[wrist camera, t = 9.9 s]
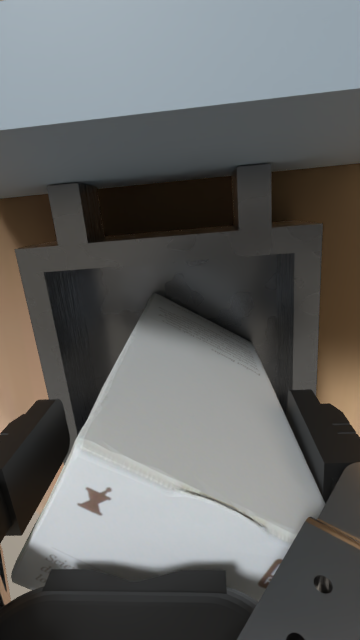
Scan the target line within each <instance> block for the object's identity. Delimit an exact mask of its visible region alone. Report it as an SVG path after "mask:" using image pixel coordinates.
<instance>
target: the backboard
mask: <svg viewBox="0 0 360 640" xmlns="http://www.w3.org/2000/svg"><path fill="white" fill-rule="evenodd" d="M270 163H271V172H275V171H286V170H296V169H306V168H316V167H326V166H336V165H347V164H357V163H360V0H3V1H0V199H1V198H11V197H21V196H31V195H41V194H48V190H47V186H51V185H61V184H71V183H81V184H86V185H91V186H96V187H97V189H102V188H113V187H123V186H133V185H143V184H153V183H164V182H174V181H184V180H194V179H204V178H214V177H225V176H232V172H233V171H234V170H235V168H236V167H240V166H250V165H260V164H270Z"/></svg>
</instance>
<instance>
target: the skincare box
mask: <svg viewBox="0 0 360 640" xmlns="http://www.w3.org/2000/svg"><path fill="white" fill-rule="evenodd" d="M324 506H325V502H324V500H323V497H322V495H321V493H320V491H319V488H318V486H317V484H316V482H315V479H314V477H313V475H312V473H311V471H310V469H309V467H308V464H307V462H306V460H305V458H304V455H303V453H302V451H301V449H300V447H299V444H298V442H297V440H296V438H295V436H294V433H293V431H292V429H291V427H290V425H289V422H288V420H287V418H286V416H285V413H284V411H283V409H282V407H281V405H280V403H279V400H278V398H277V396H276V393H275V391H274V389H273V387H272V385H271V382H270V380H269V378H268V376H267V374H266V372H265V370H264V367H263V365H262V363H261V360H260V358H259V356H258V354H257V351H256V349H255V347H254V345H253V343H251V342H250V341H248V340H246V339H244V338H242V337H240V336H238V335H236V334H234V333H232V332H230V331H228V330H226V329H224V328H223V327H221V326H219V325H217V324H215V323H213V322H211V321H209V320H207V319H205V318H203V317H201V316H199V315H197V314H195V313H193V312H192V311H190V310H188V309H186V308H184V307H182V306H180V305H178V304H176V303H174V302H172V301H170V300H169V299H167V298H165V297H163V296H161V295H159V294H156V293H153V294H152V295H151V297H150V299H149V301H148V303H147V305H146V307H145V309H144V311H143V313H142V315H141V316H140V318H139V320H138V322H137V324H136V326H135V328H134V330H133V332H132V333H131V335H130V337H129V339H128V341H127V343H126V344H125V346H124V348H123V350H122V352H121V354H120V355H119V357H118V359H117V361H116V363H115V365H114V367H113V368H112V370H111V372H110V374H109V376H108V378H107V380H106V382H105V383H104V385H103V387H102V389H101V391H100V394H99V396H98V398H97V400H96V402H95V404H94V406H93V408H92V411H91V413H90V415H89V417H88V419H87V421H86V423H85V424H84V426H83V428H82V429H81V431H80V433H79V434H78V436H77V438H76V440H75V442H74V445H73V447H72V450H71V452H70V454H69V457H68V459H67V461H66V463H65V465H64V467H63V469H62V471H61V474H60V476H59V478H58V480H57V482H56V484H55V486H54V489H53V491H52V493H51V495H50V497H49V499H48V501H47V504H46V506H45V508H44V509H43V511H42V513H41V515H40V516H39V518H38V520H37V522H36V523H35V525H34V527H33V529H32V531H31V533H30V535H29V537H28V539H27V541H26V543H25V545H24V547H23V549H22V551H21V553H20V555H19V557H18V558H17V560H16V563H15V565H14V568H13V571H12V575H11V578H12V581H13V582H14V583H16V584H18V585H21V586H23V587H26V588H28V589H31V590H35V589H37V588H40V587H43V586H44V585H45V583H46V581H47V578H48V576H49V573H50V571H51V569H93V570H96V571H99V572H103V573H106V574H109V575H112V576H116V577H119V578H122V579H125V580H128V581H141V580H144V579H148V578H152V577H156V576H160V575H164V574H168V573H171V572H175V571H179V570H226V585H227V587H229V588H232V589H236V590H238V591H240V592H242V593H245V594H247V595H248V596H250V597H252V598H253V599H255V600H257V601H258V602H259V600H260V598H261V597H262V595H263V593H264V591H265V590H266V588H267V586H268V584H269V583H270V581H271V579H272V577H273V576H274V574H275V572H276V571H277V569H278V567H279V565H280V564H281V562H282V560H283V558H284V557H285V555H286V553H287V551H288V550H289V548H290V546H291V545H292V543H293V541H294V539H295V538H296V536H297V534H298V532H299V531H300V529H301V527H302V525H303V524H304V522H305V521H306V519H307V518H308V517H313V518H315V519H318V517H319V515H320V513H321V511H322V510H323V508H324Z"/></svg>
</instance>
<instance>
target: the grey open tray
mask: <svg viewBox="0 0 360 640" xmlns="http://www.w3.org/2000/svg"><path fill="white" fill-rule="evenodd" d="M47 190H48V196H49V201H50V206H51V211H52V217H53V222H54V227H55V232H56V237H57V240H56V241H51V242H47V243H42V244H37V245H33V246H28V247H23V248H19V249H15V253H16V258H17V262H18V266H19V271H20V275H21V279H22V284H23V288H24V292H25V297H26V301H27V305H28V310H29V314H30V319H31V323H32V327H33V332H34V336H35V340H36V345H37V349H38V353H39V358H40V362H41V366H42V371H43V375H44V379H45V384H46V388H47V393H48V397H49V399H60V400H61V401H62V403H63V407H64V411H65V416H66V421H67V425H68V430H69V434H70V447H69V451H68V454H67V455H66V457H65V459H64V461H63V462H64V465H65V463H66V461H67V459H68V457H69V454H70V452H71V450H72V447H73V445H74V442H75V440H76V438H77V436H78V434H79V433H80V431H81V429H82V428H83V426H84V424H85V423H86V421H87V419H88V417H89V415H90V413H91V411H92V408H93V406H94V404H95V402H96V400H97V398H98V396H99V394H100V391H101V389H102V387H103V385H104V383H105V382H106V380H107V378H108V376H109V374H110V372H111V370H112V368H113V367H114V365H115V363H116V361H117V359H118V357H119V355H120V354H121V352H122V350H123V348H124V346H125V344H126V343H127V341H128V339H129V337H130V335H131V333H132V332H133V330H134V328H135V326H136V324H137V322H138V320H139V318H140V316H141V315H142V313H143V311H144V309H145V307H146V305H147V303H148V301H149V299H150V297H151V295H152V294H153V293H156V294H159V295H161V296H163V297H165V298H167V299H169V300H170V301H172V302H174V303H176V304H178V305H180V306H182V307H184V308H186V309H188V310H190V311H192V312H193V313H195V314H197V315H199V316H201V317H203V318H205V319H207V320H209V321H211V322H213V323H215V324H217V325H219V326H221V327H223V328H224V329H226V330H228V331H230V332H232V333H234V334H236V335H238V336H240V337H242V338H244V339H246V340H248V341H250V342H251V343H253V345H254V347H255V349H256V351H257V354H258V356H259V358H260V360H261V363H262V365H263V367H264V370H265V372H266V374H267V376H268V378H269V380H270V382H271V385H272V387H273V389H274V391H275V393H276V396H277V398H278V400H279V403H280V405H281V407H282V409H283V411H284V413H285V416H286V418H287V394H288V391H289V390H306V389H311V390H312V391H313V392H314V394H315V396H316V384H317V359H318V334H319V308H320V283H321V257H322V232H323V223H315V222H307V221H299V220H290V221H279V222H272V203H271V163H270V164H260V165H250V166H240V167H236V168H235V170H234V171H233V172H232V200H233V225H232V226H220V227H208V228H197V229H185V230H173V231H162V232H150V233H138V234H126V235H115V236H104V229H103V222H102V216H101V209H100V202H99V196H98V189H97V187H96V186H91V185H86V184H81V183H71V184H61V185H51V186H47Z"/></svg>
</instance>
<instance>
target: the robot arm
mask: <svg viewBox="0 0 360 640" xmlns="http://www.w3.org/2000/svg"><path fill="white" fill-rule="evenodd" d="M287 420H288V422H289V425H290V427H291V429H292V431H293V433H294V436H295V438H296V440H297V442H298V444H299V447H300V449H301V451H302V453H303V455H304V458H305V460H306V462H307V464H308V467H309V469H310V471H311V473H312V475H313V477H314V479H315V482H316V484H317V486H318V488H319V491H320V493H321V495H322V497H323V500H324V502H325V506H324V508H323V510H322V511H321V513H320V515H319V517H318V519H315V518H313V517H308V518H307V519H306V521H305V522H304V524H303V525H302V527H301V529H300V531H299V532H298V534H297V536H296V538H295V539H294V541H293V543H292V545H291V546H290V548H289V550H288V551H287V553H286V555H285V557H284V558H283V560H282V562H281V564H280V565H279V567H278V569H277V571H276V572H275V574H274V576H273V577H272V579H271V581H270V583H269V584H268V586H267V588H266V590H265V591H264V593H263V595H262V597H261V598H260V600H259V602H258V601H257V600H255V599H253V598H252V597H250V596H248V595H247V594H245V593H242V592H240V591H238V590H236V589H232V588H229V587H227V585H226V570H179V571H175V572H171V573H168V574H164V575H160V576H156V577H152V578H148V579H144V580H141V581H128V580H125V579H122V578H119V577H116V576H112V575H109V574H106V573H103V572H99V571H96V570H93V569H51V571H50V573H49V576H48V578H47V581H46V583H45V585H44V586H43V587H40V588H37V589H35V590H32V591H30V592H28V593H25V594H23V595H21V596H19V597H17V598H16V599H14V600H13V601H11V598H10V592H9V586H8V581H7V574H6V568H5V562H4V556H3V551H2V548H1V544H0V640H360V437H359V436H358V435H357V434H356V432H355V430H354V429H353V427H352V426H351V425H350V423H349V421H348V420H347V418H346V417H345V415H344V414H343V412H341V411H340V410H338V409H337V408H336V407H334V406H333V405H331V404H320V402H319V401H318V399H317V397H316V396H315V394H314V392H313V391H312V390H311V389H306V390H289V391H288V394H287ZM69 447H70V434H69V430H68V425H67V421H66V416H65V411H64V407H63V403H62V401H61V400H60V399H49V400H38V401H36V402H35V403H34V405H33V406H32V407H31V408H30V409H29V410H28V411H27V413H26V414H23V415H21V416H20V417H18V418H17V419H15V420H14V421H12V422H11V423H9V424H8V426H7V427H6V428H5V429H4V430H3V431H2V432H1V435H0V543H1V541H2V540H3V538H4V536H6V535H7V536H8V535H9V536H11V535H12V536H14V535H22V534H23V532H24V531H25V529H26V527H27V525H28V523H29V522H30V520H31V518H32V516H33V514H34V513H35V511H36V509H37V507H38V506H39V504H40V502H41V500H42V498H43V497H44V495H45V493H46V491H47V489H48V488H49V486H50V484H51V482H52V481H53V479H54V477H55V475H56V473H57V472H58V470H59V468H60V466H61V464H62V463H63V461H64V459H65V457H66V455H67V454H68V451H69Z"/></svg>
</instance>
